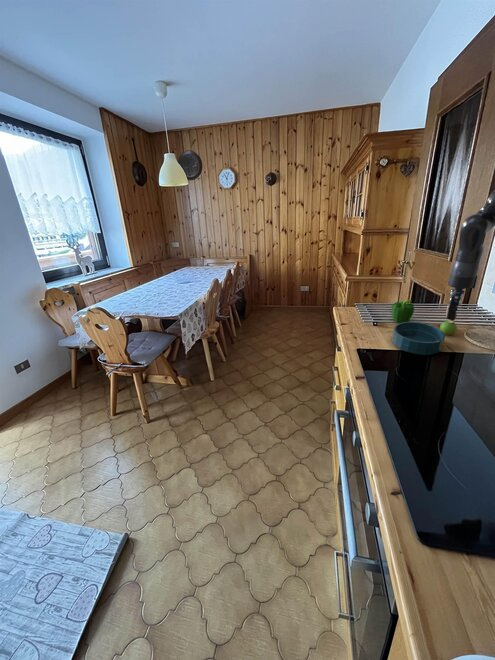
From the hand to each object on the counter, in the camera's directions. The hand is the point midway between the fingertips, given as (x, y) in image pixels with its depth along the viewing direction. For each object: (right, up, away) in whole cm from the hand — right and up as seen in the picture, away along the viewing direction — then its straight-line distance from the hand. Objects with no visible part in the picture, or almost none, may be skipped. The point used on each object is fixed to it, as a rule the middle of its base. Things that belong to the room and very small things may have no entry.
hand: (450, 316), depth 108 cm
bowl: (-15, -11, -2) cm, 19 cm away
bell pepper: (-11, -2, +15) cm, 19 cm away
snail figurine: (+1, -7, +4) cm, 8 cm away
